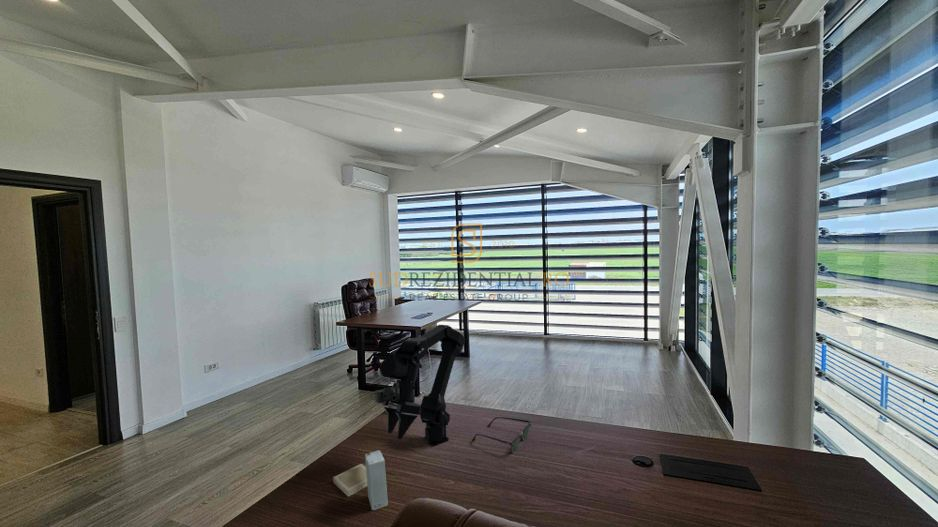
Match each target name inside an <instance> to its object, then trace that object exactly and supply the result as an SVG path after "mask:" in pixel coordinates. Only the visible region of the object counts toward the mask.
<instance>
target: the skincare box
mask: <svg viewBox="0 0 938 527" xmlns="http://www.w3.org/2000/svg"><path fill="white" fill-rule="evenodd" d="M364 459H365V460H364V461H365V462H364V463H365V467H366V475H367V487H366V488H367V497H368V501H369V505H370V508H371V511H377V510H379V509H382V508H385V507H387V506H388V505H389V500H388V490H387V488H388V486H387V478H386V477H387V475H386V462H385V461H386V460H385V458H384V456H383V454H382V452H381V450H380V449H379V450H375V451H371V452H368V453H365V454H364Z"/></svg>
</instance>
